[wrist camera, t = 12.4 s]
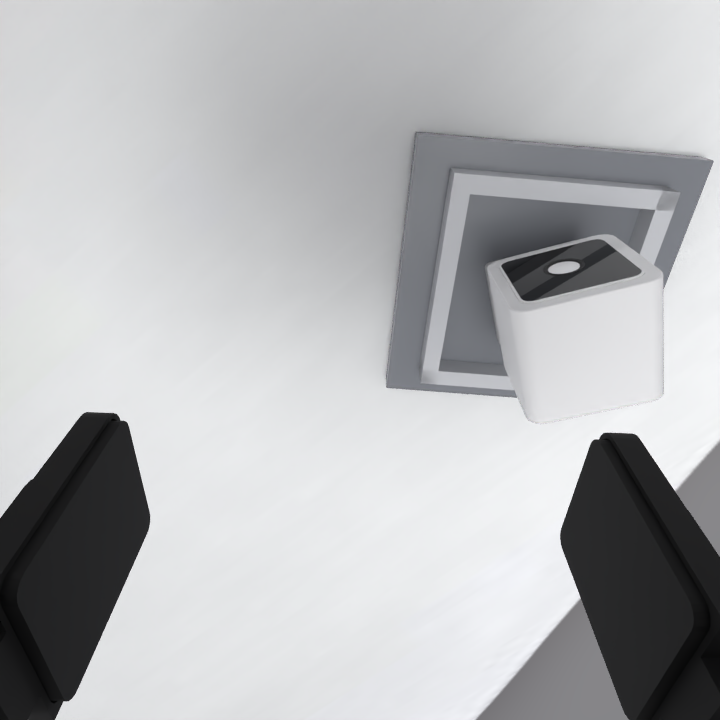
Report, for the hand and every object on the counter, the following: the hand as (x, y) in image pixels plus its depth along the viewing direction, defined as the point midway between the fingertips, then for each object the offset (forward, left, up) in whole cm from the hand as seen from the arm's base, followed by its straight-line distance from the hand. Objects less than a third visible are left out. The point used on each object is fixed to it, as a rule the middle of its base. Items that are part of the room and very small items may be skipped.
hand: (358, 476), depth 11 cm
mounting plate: (+4, +10, -23) cm, 26 cm away
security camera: (+4, +11, -22) cm, 25 cm away
